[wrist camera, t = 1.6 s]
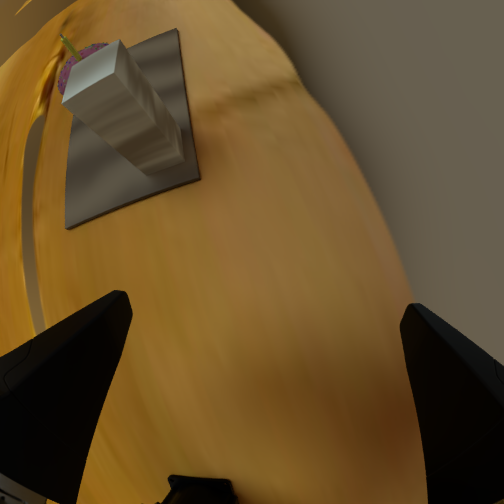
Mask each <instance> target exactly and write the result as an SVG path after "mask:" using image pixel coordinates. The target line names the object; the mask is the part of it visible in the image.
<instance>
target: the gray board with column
mask: <svg viewBox="0 0 504 504" xmlns="http://www.w3.org/2000/svg"><path fill="white" fill-rule="evenodd" d="M62 105H63V106H65V107H66V108H67V109H68V110H69V111H70V112H72V113H73V114H74V115H73V120H72V127H71V134H70V141H69V149H68V159H67V171H66V189H65V229H67V230H69V229H71V228H73V227H75V226H78V225H80V224H82V223H84V222H87V221H89V220H91V219H94V218H96V217H98V216H101V215H103V214H106V213H108V212H111V211H113V210H116V209H118V208H121V207H123V206H126V205H128V204H131V203H134V202H136V201H139V200H142V199H144V198H147V197H150V196H153V195H155V194H158V193H161V192H164V191H167V190H170V189H173V188H176V187H179V186H182V185H185V184H188V183H191V182H194V181H197V180H200V174H199V169H198V163H197V158H196V152H195V146H194V140H193V134H192V128H191V122H190V116H189V110H188V103H187V97H186V90H185V83H184V76H183V69H182V61H181V54H180V46H179V38H178V30H177V28H175V29H172V30H170V31H167V32H164V33H162V34H159V35H157V36H154V37H152V38H150V39H147V40H145V41H143V42H140V43H138V44H136V45H134V46H132V47H130V48H128V49H126V48H125V46H124V45H123V43H122V42H121V40H120V39H119V40H117V41H115V42H113V43H111V44H109V45H107V46H105V47H104V48H102V49H100V50H98V51H97V52H95V53H93V54H91V55H90V56H88V57H86V58H85V59H83V60H82V61H80V62H78V63H77V64H75V65H74V66H72V68H71V71H70V75H69V78H68V81H67V85H66V88H65V92H64V96H63V100H62Z"/></svg>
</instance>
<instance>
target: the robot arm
mask: <svg viewBox="0 0 504 504" xmlns="http://www.w3.org/2000/svg"><path fill="white" fill-rule="evenodd" d="M132 316H133V312H132V308H131V305H130V301H129V298H128V295H127V293H126V292H125V291H120V290H114V291H112V292H110V293H108V294H107V295H105V296H103V297H101V298H100V299H98V300H96V301H94V302H93V303H91V304H89V305H87V306H86V307H84V308H82V309H81V310H79V311H77V312H75V313H74V314H72V315H70V316H69V317H67V318H65V319H64V320H62V321H60V322H59V323H57V324H55V325H54V326H52V327H50V328H49V329H47V330H45V331H44V332H42V333H40V334H39V335H37V336H36V337H34V338H33V339H31V340H29V341H27V342H26V343H24V344H23V345H21V346H19V347H18V348H16V349H14V350H13V351H11V352H9V353H7V354H5V355H3V356H2V357H0V504H47V503H46V501H47V499H50V500H52V501H54V502H56V503H59V504H76V502H77V497H78V493H79V488H80V484H81V480H82V476H83V472H84V468H85V464H86V460H87V456H88V453H89V449H90V446H91V442H92V439H93V435H94V432H95V429H96V426H97V423H98V419H99V416H100V413H101V410H102V407H103V404H104V401H105V399H106V396H107V393H108V390H109V387H110V384H111V382H112V379H113V376H114V374H115V371H116V368H117V366H118V363H119V361H120V358H121V355H122V352H123V348H124V345H125V341H126V337H127V334H128V330H129V327H130V324H131V320H132ZM400 333H401V338H402V344H403V350H404V356H405V362H406V368H407V372H408V376H409V380H410V385H411V389H412V393H413V398H414V402H415V407H416V412H417V417H418V422H419V428H420V433H421V440H422V446H423V453H424V461H425V469H426V476H427V477H426V481H427V494H428V504H504V366H503V365H502V364H500V363H499V362H498V361H497V360H495V359H493V357H491V356H490V355H489V354H488V353H487V352H485V351H484V350H483V349H481V348H480V347H479V346H477V345H476V344H475V343H474V342H472V341H471V340H470V339H468V338H467V337H466V336H464V335H463V334H462V333H461V332H459V331H458V330H457V329H455V328H453V327H452V326H451V325H450V324H448V323H447V322H446V321H444V320H443V319H442V318H440V317H439V316H437V315H436V314H435V313H433V312H432V311H430V310H429V309H428V308H426V307H425V306H423V305H422V304H420V303H411V304H409V305H408V306H407V308H406V310H405V313H404V315H403V318H402V320H401V322H400ZM172 479H173V480H172ZM168 482H169V484H170V487H171V490H170V492H169V493H168V495H167V496H166V497H165V499H164V500H163V502H162V503H161V504H239V501H238V497H237V496H236V495H234V493H233V489H232V485H231V482H230V481H229V480H226V479H206V478H194V477H184V476H175V475H170V476H169V477H168ZM224 483H226V484H224ZM155 504H160V503H159V502H156V503H155Z"/></svg>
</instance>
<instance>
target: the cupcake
mask: <svg viewBox="0 0 504 504" xmlns="http://www.w3.org/2000/svg"><path fill="white" fill-rule="evenodd" d="M60 36H61V37H62V39H61V41H62V42H63V44H64V45H65V46H66V47H67V49H68V50H69V51H70V52H71V54H72V55H73V56H72V57H71V58H70V59H69V60H68V61H67V62H66V65H65V66H64V68H62V71H61V74H60V78H59V81H58V86H57V87H59V88H58V90H59V91H60V93H61V94H62V95H63V96H64V92H65V88H66V85H67V81H68V78H69V75H70V71H71V68H72V66H74V65H75V64H77V63H78V62H80V61H82V60H83V59H85V58H86V57H88V56H90V55H91V54H93V53H95V52H97V51H98V50H100V49H102V48H104V47H105V46H107V45H109V44H108V43H107V42H106V43H98V44H94V45H93V44H92V45H90V46H88V47H85V49H83V50H79V51H78V52H77V50H76V49H75V48H74V46H73V45H72V44H71V43H70V41H69V40H68V39H67V37H66V36H65V37H63V35H62V34H60Z"/></svg>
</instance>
